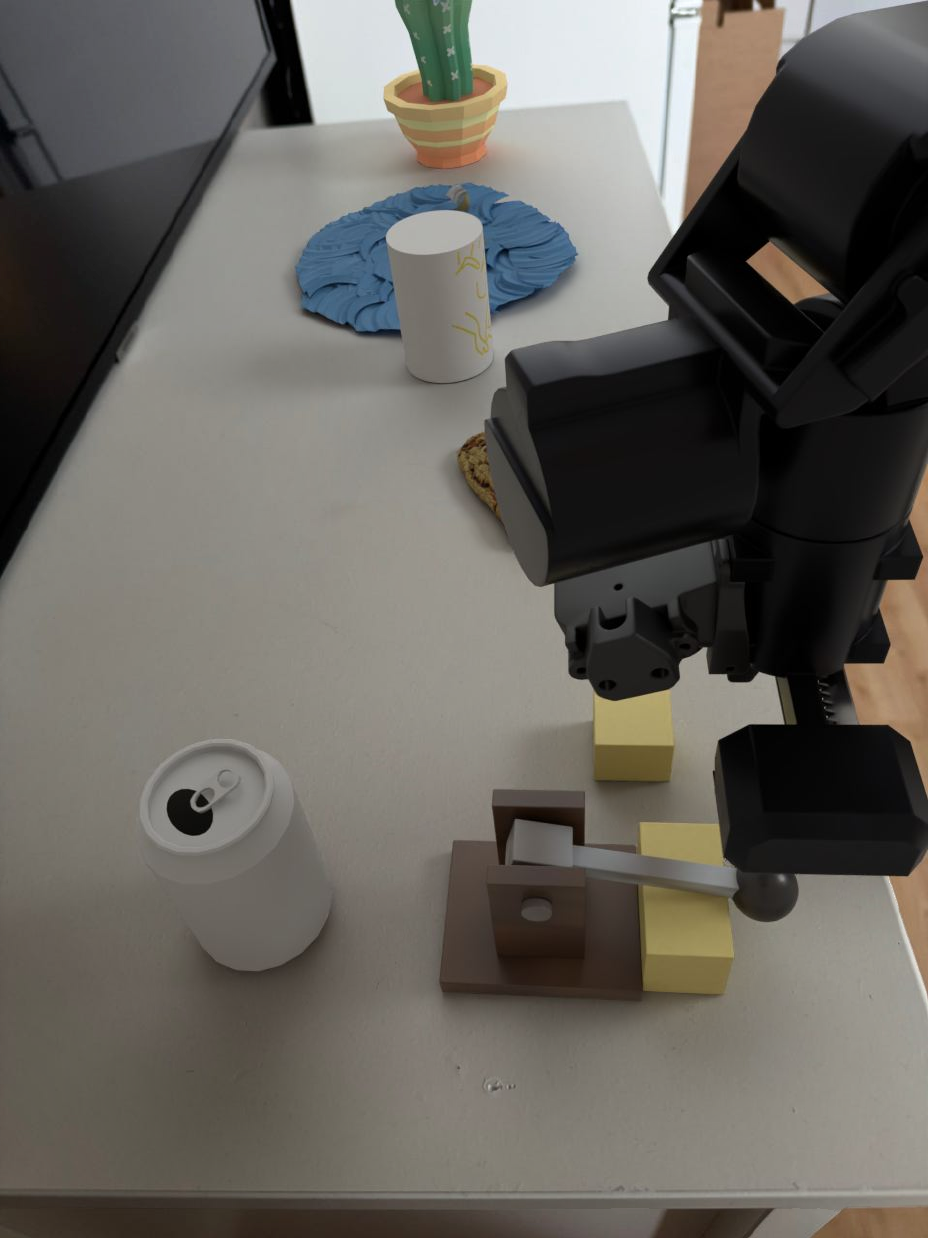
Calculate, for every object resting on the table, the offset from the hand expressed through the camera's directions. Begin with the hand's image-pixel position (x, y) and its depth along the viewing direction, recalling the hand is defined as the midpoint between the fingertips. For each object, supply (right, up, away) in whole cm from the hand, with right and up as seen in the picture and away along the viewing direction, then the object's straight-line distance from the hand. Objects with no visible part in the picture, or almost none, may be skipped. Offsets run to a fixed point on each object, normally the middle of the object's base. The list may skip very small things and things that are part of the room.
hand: (752, 761), depth 42 cm
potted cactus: (-14, +65, +79) cm, 103 cm away
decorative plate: (-16, +44, +59) cm, 75 cm away
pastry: (-5, +17, +33) cm, 38 cm away
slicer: (-9, -10, +8) cm, 15 cm away
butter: (-2, -10, +8) cm, 12 cm away
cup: (-14, +30, +46) cm, 57 cm away
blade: (-4, -7, +5) cm, 9 cm away
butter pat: (-3, -2, +15) cm, 16 cm away
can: (-23, -10, +10) cm, 27 cm away
